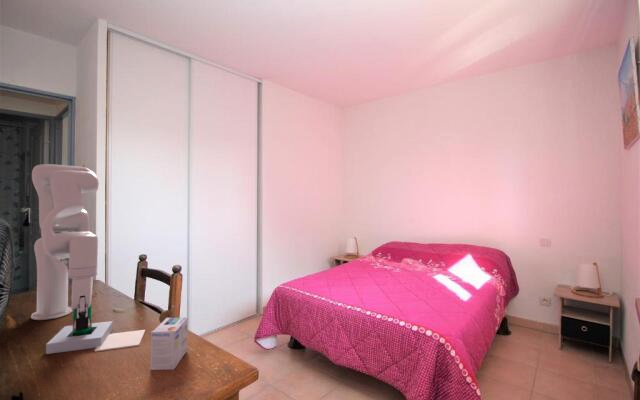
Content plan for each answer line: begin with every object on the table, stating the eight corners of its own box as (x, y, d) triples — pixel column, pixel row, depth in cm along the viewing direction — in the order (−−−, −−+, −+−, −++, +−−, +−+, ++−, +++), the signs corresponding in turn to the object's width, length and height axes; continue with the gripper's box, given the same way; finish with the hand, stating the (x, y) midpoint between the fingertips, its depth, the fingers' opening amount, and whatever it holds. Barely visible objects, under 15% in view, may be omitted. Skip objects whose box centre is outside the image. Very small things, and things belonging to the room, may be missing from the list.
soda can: (71, 342, 99) (72, 305, 99) (73, 336, 104) (73, 300, 104) (91, 339, 102) (91, 302, 102) (92, 333, 106) (92, 298, 106)
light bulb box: (165, 351, 96) (165, 316, 96) (187, 351, 97) (188, 316, 97) (149, 370, 86) (150, 331, 86) (174, 369, 86) (175, 331, 86)
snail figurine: (180, 338, 106) (181, 302, 106) (165, 346, 100) (166, 309, 100) (168, 335, 108) (168, 300, 108) (152, 343, 102) (153, 306, 101)
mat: (105, 335, 107) (105, 334, 107) (145, 330, 111) (145, 329, 111) (94, 351, 96) (94, 350, 96) (139, 345, 100) (139, 344, 100)
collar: (64, 334, 107) (65, 326, 107) (112, 329, 112) (112, 321, 112) (46, 354, 94) (46, 344, 94) (101, 346, 99) (101, 337, 99)
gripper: (70, 268, 107) (69, 320, 108) (66, 279, 94) (65, 339, 94) (97, 265, 112) (96, 316, 112) (97, 275, 98) (96, 333, 98)
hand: (82, 326), depth 103 cm, fingers closed on soda can, 5 cm apart
